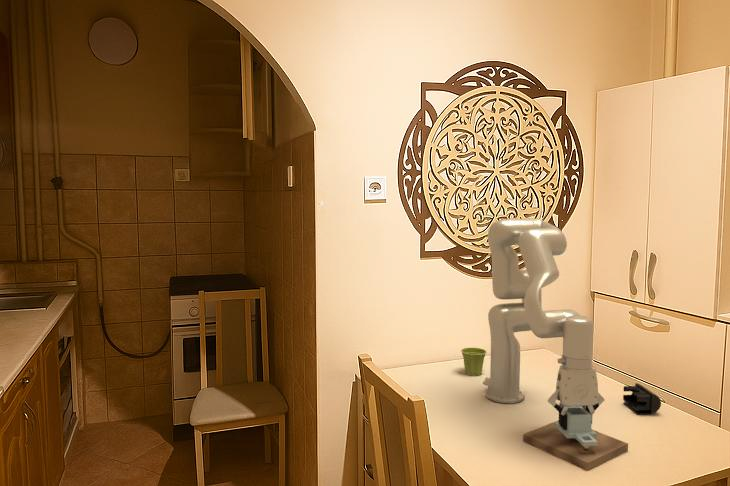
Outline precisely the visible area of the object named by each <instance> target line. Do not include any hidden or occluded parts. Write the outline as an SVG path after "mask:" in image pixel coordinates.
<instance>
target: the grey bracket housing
mask: <svg viewBox="0 0 730 486" xmlns="http://www.w3.org/2000/svg"><path fill="white" fill-rule="evenodd" d="M566 415H567V429H566V430H564V429H563V428H562V427H561V426H560V425H559V422H555V421H554V422H555V427H556V428H557V429H558V430H559V431H560V432H561V433H562V434H563V435H564V436H565V437H566V438H576V439H577V440H578V441H579V442H580V443H581V444H582V445H583V446H596V445H598V441H597V440H595V439H594V438H593V437H597V433H596V432H595V431H596V430H595V431H593V430H594V429H593V428H592V424H593V414H592V415H591V414H590V413H589V412H588V411H586V410H585V409H584V408H583V407H582V406H571V407H568V409H567V411H566Z"/></svg>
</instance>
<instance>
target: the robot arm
mask: <svg viewBox="0 0 730 486" xmlns="http://www.w3.org/2000/svg"><path fill="white" fill-rule="evenodd" d="M487 242H488V243H487V244H488V247H489V251H490V256H491V265H492V266H491V272H492V273H491V275H492V276H491V278H492V279H491V280H492V293H493V295H494V297H495V298H496V299H499V300H506V301H507V300H521V302H507V303H499V304H496V305H494V306H492V307H490V309H489V310H488V316H487V317H488V319H487V321H488V325H489V331H490V332H489V333H490V334H489V335H490V372H489V373H490V374H489V376H490V377H485V378H484V380H483V381H482V384H483V385H484V386H487V389H486V390H485V393H484V394H485V397H486V399H488V400H490V401H492V402H495V403H500V404H517V403H520V402H522V401H524V399H525V395H524V392H522V391H521V390H520V383H521V382H520V377H521V376H520V375H521V345H520V342H519V340H518V339H517V337H516V336H515V333H519V332H532V333H533V334H534V335H535V337H537V338H539V339H552V338H562V355H561V357H560V358H557V363H558V364H561V365H559V369H558V373H557V378H556V384H555V385H556V386H555V391H554V392H553V393H552V394H551V395H550V397H548V399H547V403H549V404H550V405H551V406H552V407H553V408H554V409H555V410H556V411H557V412H558V420H559V425H560V426H561V427H562V428H563V429H564V430H566V429H567V415H566V411H567V409H568V407H574V406H585V408H586V409H585V410H586V411H588V412H589V413H590V414H591V415H592V416H593V414H595V411H596V410H597V409H598V408H599V407H600V405H602V404H603V403H604V402H605V398H604V397H603V396H602V395H601V393H599V383H598V377H597V376H598V375H597V370H596V368H595V367H594V366H593V367H592V365H593V358H594V356H593V352H594V329H595V328H594V321H593V319H592V318H591V317H589V316H587V315H586V316H585V315H581V314H580V313H579V312H578V311H576V310H573V309H567V308H566V309H553V310H543V308H542V307H543V305H542V303H543V302H542V289H543V288H545V287H546V286H547V287H548V286H549V285H550V284H552V283H553V282H556V280H558V279H559V277H560V270H559V268H558V265H557V263H556V260H555V257H554V256H560V255H563V254H564V253H565V252H566V249H567V246H568V244H567V243H568V242H567V238H566V236H565V234H564V233H563V231H562V230H561V229H560V228H558V227H557V226H555V225H553V224H551V223H549V222H548V221H544V220H543V219H541V218H534V217H533V218H505V219H499V220H496V221H493V222H492V223H491V225H490V227H489V229H488V233H487ZM513 246H518V249H519V252H520V255H521V258H522V261H523V264H524V266H525V269H520V267H519V261H520V260H519V256H518V253H517V252H516V250H515V249H514V248H513ZM556 401H559V403H557V402H556Z"/></svg>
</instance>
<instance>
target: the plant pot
mask: <svg viewBox="0 0 730 486" xmlns="http://www.w3.org/2000/svg"><path fill="white" fill-rule="evenodd" d="M460 351H461V354H462V357H463V364H464V365H463V366H464V372H466V373H467V375H469V374H470V375H469V376H475V375H476V376H479V375H480V374H481V375H482V373H483V366H484V361H485V357H486V355H487V350H486V349H484V348H480V347H464V348H462V349H460ZM466 373H465V374H466Z"/></svg>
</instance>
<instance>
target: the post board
mask: <svg viewBox="0 0 730 486" xmlns="http://www.w3.org/2000/svg"><path fill="white" fill-rule="evenodd" d="M555 422H559V419H558V420H556V421H553V422H550V423H548V424H545V425H543V426H541V427H537V428H535V429H533V430H530V431H527V432H525V433H523V434H522V441H523V442H524V443H527V444H529V445H532V446H533V447H535V448H538V449H540V450H542V451H545V452H546V453H548V454H551V455H553V456H555V457H556V458H559V459H561V460H564V461H566V462H568V463H570V464H573V466H574V465H575V466H577V467H578V468H581V469H583V470H586V471H589V470H591V469H594V468H596V467H598V466H600V465H603V464H604V463H606V462H609V461H610V460H613V459H614V458H616V457H618V456H620V455H623V454H624V453H626V452H628V451H629V443H627V442H625V441H622V440H620V439H618V438H615V437H613V436H609V435H607V434H605V433H603V432H599V431H597V430H594V429H592V430H593V431H595V432H596V433H597V437H593V438H594V439H595V440H597V441H598V445H596V446H589V450H588V451H585V450H584V446H583V445H582V444H581V443H580V442H579V441H578V440H577V439H576V438H566V437H565V436H564V435H563V434H562V433H561V432H560V431H559V430H558V429H557V428H556V427H555Z"/></svg>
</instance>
